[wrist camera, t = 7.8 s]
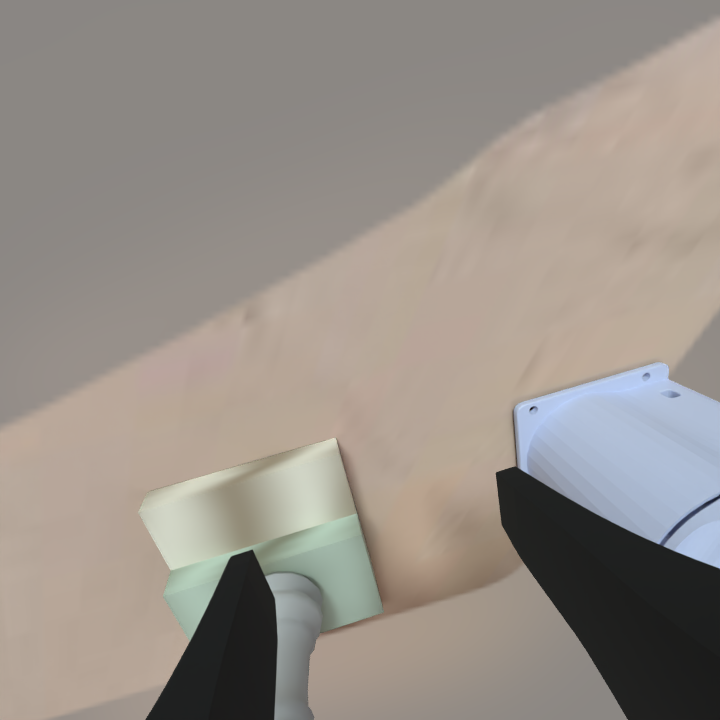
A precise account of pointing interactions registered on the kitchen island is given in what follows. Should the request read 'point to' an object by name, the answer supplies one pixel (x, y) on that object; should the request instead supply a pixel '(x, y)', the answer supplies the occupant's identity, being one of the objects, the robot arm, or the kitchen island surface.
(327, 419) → the kitchen island surface
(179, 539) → the stepped riser
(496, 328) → the kitchen island surface
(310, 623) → the rook chess piece
